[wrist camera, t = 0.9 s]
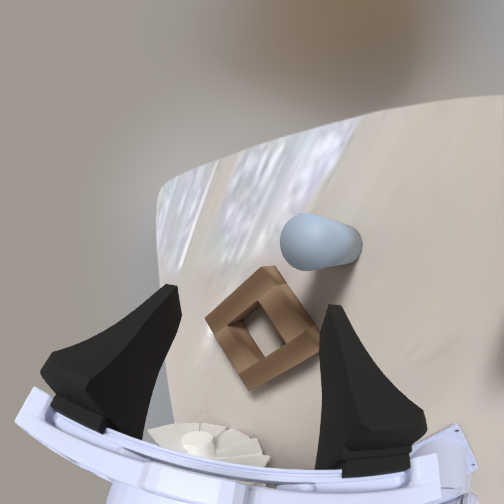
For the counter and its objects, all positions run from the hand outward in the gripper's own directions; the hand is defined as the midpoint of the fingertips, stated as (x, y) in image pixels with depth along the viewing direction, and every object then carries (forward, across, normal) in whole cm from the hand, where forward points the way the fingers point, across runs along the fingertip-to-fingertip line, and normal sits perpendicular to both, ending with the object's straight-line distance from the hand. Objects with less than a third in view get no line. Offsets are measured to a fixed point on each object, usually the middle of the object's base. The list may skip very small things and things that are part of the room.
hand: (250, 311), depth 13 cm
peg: (+15, -8, +4) cm, 18 cm away
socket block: (+13, -1, +16) cm, 21 cm away
